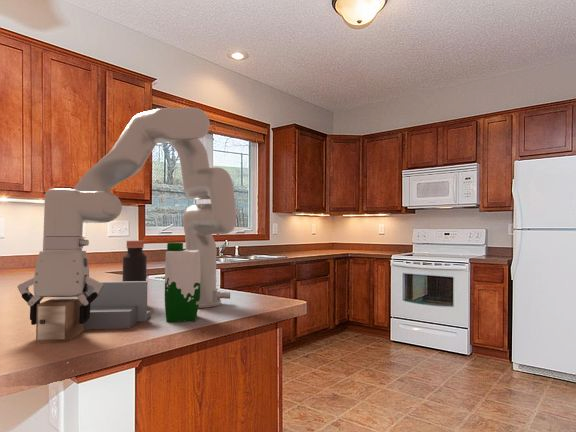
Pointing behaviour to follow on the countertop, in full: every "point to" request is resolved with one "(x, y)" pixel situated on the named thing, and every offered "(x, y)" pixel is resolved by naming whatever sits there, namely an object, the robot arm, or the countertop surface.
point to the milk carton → (181, 283)
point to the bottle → (134, 262)
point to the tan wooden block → (58, 320)
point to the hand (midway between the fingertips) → (60, 323)
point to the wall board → (118, 305)
